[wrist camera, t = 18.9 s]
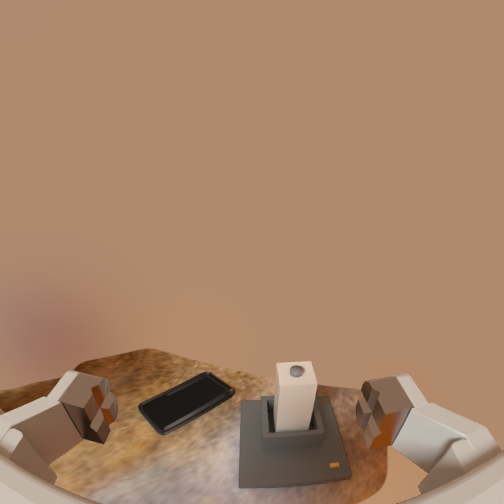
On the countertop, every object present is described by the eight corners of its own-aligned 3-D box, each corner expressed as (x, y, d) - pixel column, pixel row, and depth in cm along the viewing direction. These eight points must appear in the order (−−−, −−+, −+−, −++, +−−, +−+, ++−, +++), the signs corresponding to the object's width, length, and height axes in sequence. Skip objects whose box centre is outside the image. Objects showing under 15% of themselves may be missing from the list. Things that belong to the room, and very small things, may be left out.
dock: (239, 488, 25) (237, 475, 24) (241, 404, 40) (240, 387, 39) (350, 477, 25) (357, 463, 24) (327, 400, 41) (330, 383, 39)
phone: (235, 391, 43) (160, 434, 32) (236, 395, 43) (161, 438, 33) (206, 370, 48) (135, 404, 38) (206, 374, 48) (137, 409, 38)
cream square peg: (275, 439, 32) (279, 382, 29) (273, 417, 36) (276, 359, 33) (306, 437, 32) (318, 379, 29) (302, 415, 36) (311, 357, 33)
